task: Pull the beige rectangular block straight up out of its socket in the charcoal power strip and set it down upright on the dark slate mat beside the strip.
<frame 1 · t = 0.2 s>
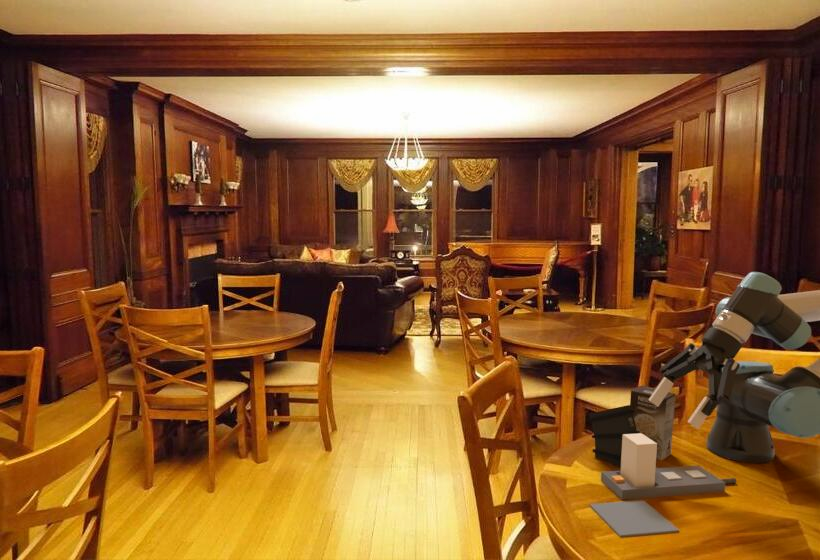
hand: (671, 414, 134), 16 cm above the table, tool tilted 35°, fingers open, 13 cm apart
power strip: (661, 488, 133), on the table
coffee box: (648, 454, 152), on the table
slate mat: (632, 520, 118), on the table
beige rectangular block: (636, 487, 132), resting on power strip
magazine: (612, 464, 146), on the table
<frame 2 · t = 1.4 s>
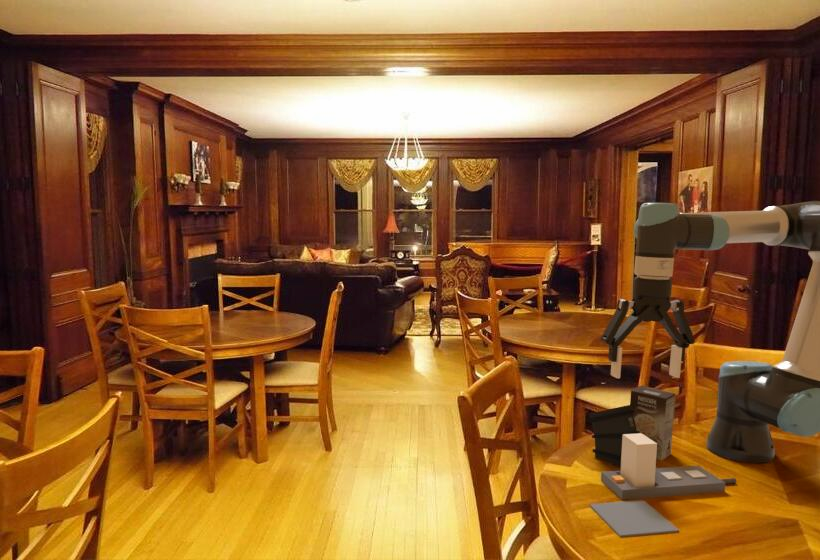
hand: (645, 376, 129), 25 cm above the table, tool pointing down, fingers open, 13 cm apart
nothing on the table moved.
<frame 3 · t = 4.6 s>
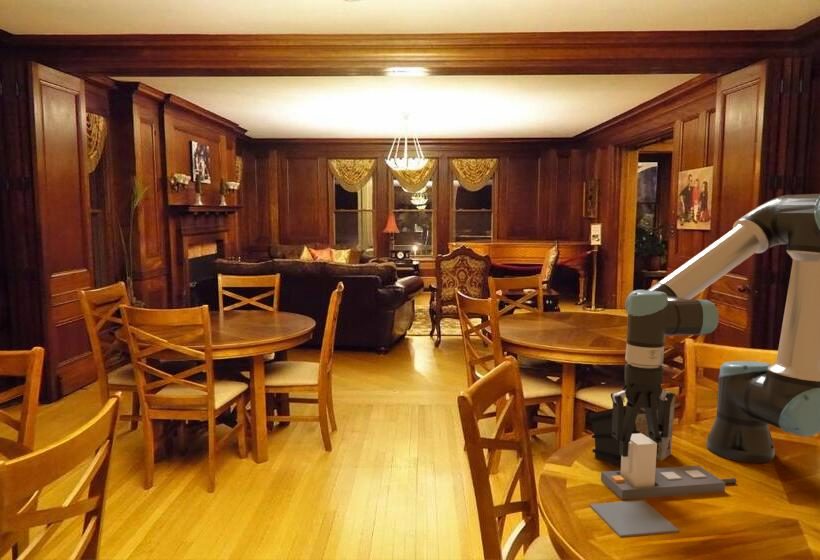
hand: (637, 469, 131), 5 cm above the table, tool pointing down, fingers closed on beige rectangular block, 4 cm apart
beige rectangular block: (636, 487, 132), point 1 cm above the table, touching gripper, power strip
everything else where it was.
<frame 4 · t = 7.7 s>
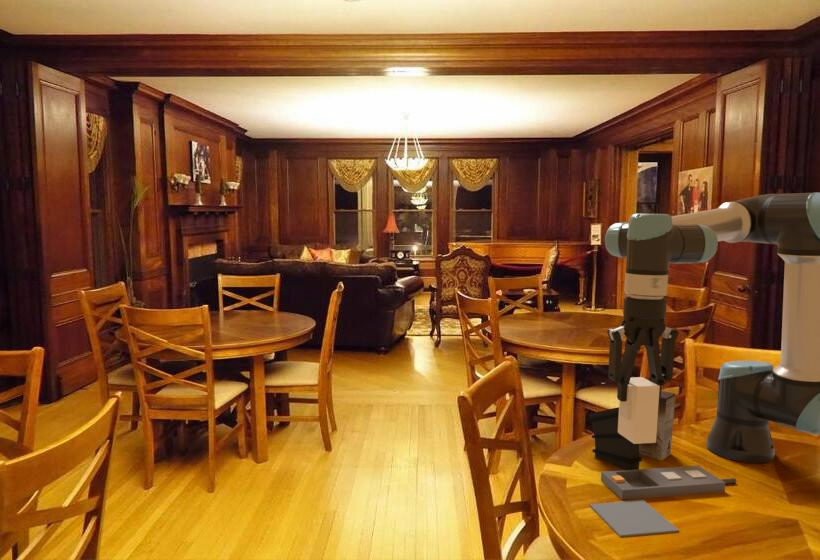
hand: (637, 416, 116), 21 cm above the table, tool pointing down, fingers closed on beige rectangular block, 4 cm apart
beige rectangular block: (636, 437, 117), point 17 cm above the table, touching gripper
everything else where it was.
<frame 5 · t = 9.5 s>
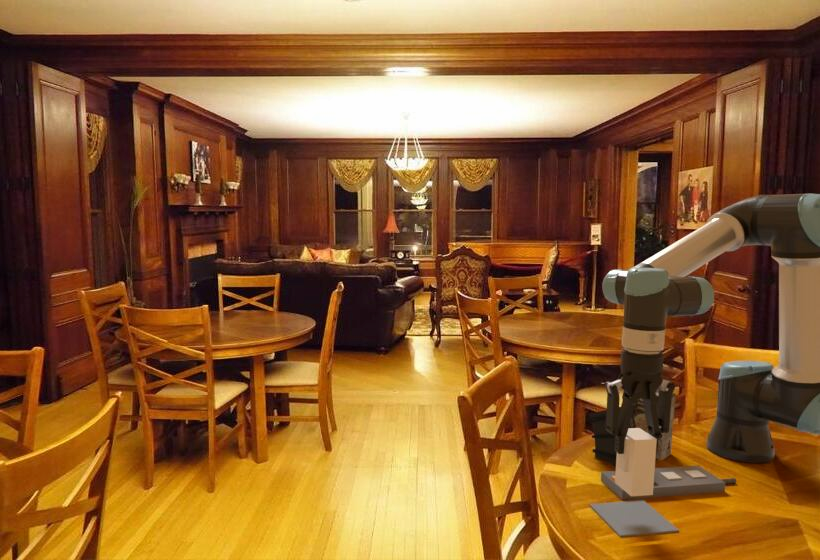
hand: (634, 468, 117), 11 cm above the table, tool pointing down, fingers closed on beige rectangular block, 4 cm apart
beige rectangular block: (633, 488, 118), point 7 cm above the table, touching gripper
everything else where it was.
when the fingers open (6 cm above the table, at t = 11.0 s): beige rectangular block drops 1 cm, resting on slate mat.
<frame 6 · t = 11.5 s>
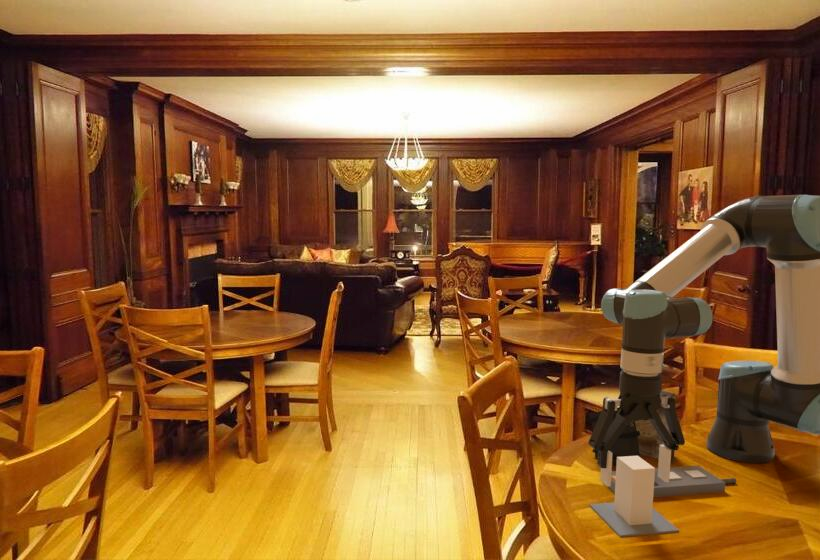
hand: (634, 481, 117), 8 cm above the table, tool pointing down, fingers open, 11 cm apart
beige rectangular block: (632, 516, 118), point 1 cm above the table, touching slate mat
everything else where it was.
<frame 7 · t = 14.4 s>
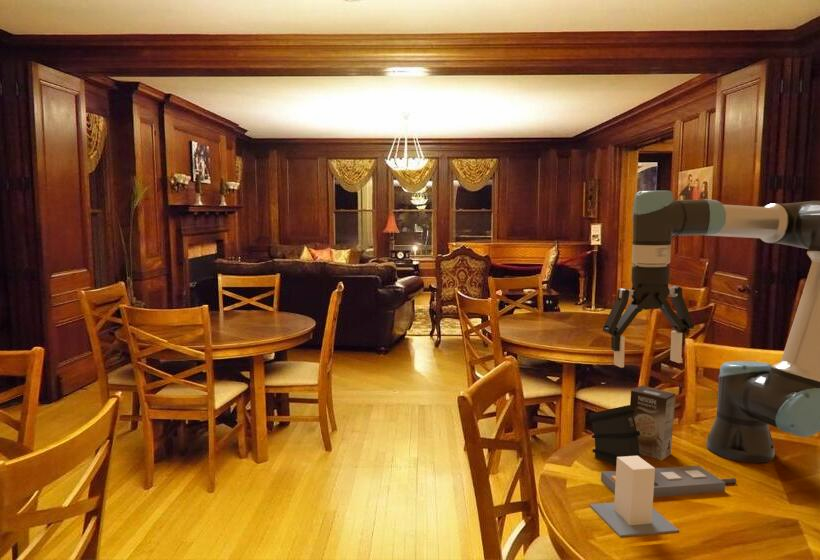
hand: (647, 363, 130), 28 cm above the table, tool pointing down, fingers open, 13 cm apart
nothing on the table moved.
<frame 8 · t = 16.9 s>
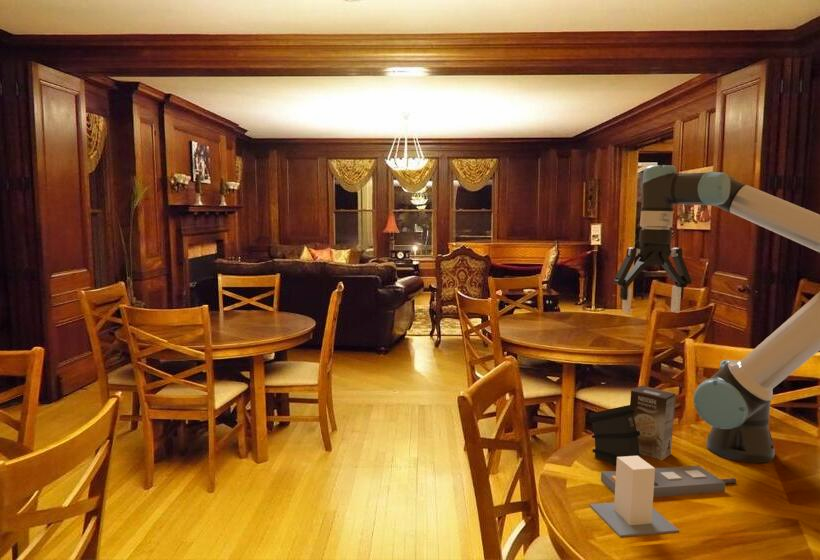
hand: (650, 312, 154), 35 cm above the table, tool pointing down, fingers open, 13 cm apart
nothing on the table moved.
at the end: beige rectangular block inside the target area on the slate mat (0.0 cm from its centre), point 0.8 cm above the slate mat's base; beige rectangular block tilted 0°; the gripper is holding nothing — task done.
